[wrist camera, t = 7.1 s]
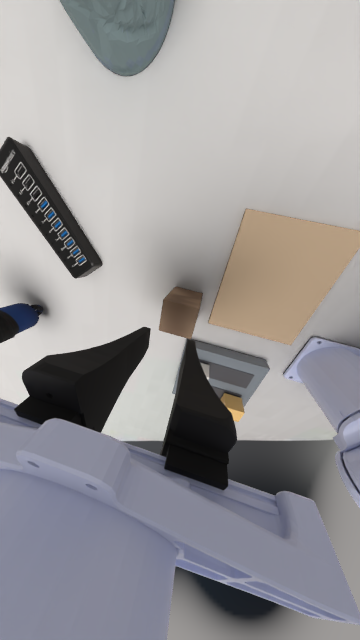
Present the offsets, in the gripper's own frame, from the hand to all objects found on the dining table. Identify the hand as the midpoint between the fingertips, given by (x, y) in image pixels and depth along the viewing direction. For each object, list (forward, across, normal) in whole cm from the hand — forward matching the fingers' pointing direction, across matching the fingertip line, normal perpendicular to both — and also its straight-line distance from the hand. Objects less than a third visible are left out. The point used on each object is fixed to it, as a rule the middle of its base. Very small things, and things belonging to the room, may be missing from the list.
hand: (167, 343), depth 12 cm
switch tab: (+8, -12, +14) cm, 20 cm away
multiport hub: (+11, +19, -7) cm, 23 cm away
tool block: (+10, 0, 0) cm, 10 cm away
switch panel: (+10, -8, +12) cm, 18 cm away
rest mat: (+10, -10, -5) cm, 15 cm away
